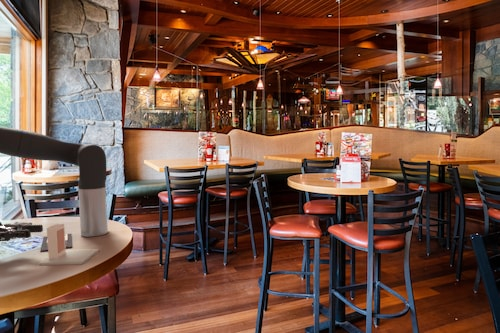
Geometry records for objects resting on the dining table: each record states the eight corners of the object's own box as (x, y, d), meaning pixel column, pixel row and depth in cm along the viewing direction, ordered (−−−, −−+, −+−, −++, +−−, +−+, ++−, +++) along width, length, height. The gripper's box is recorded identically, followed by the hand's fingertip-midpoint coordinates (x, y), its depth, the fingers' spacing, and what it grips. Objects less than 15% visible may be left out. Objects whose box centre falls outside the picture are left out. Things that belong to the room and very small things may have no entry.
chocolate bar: (40, 250, 115) (43, 236, 131) (40, 253, 115) (43, 239, 131) (72, 246, 119) (71, 233, 135) (72, 249, 119) (71, 236, 135)
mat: (61, 251, 115) (61, 249, 115) (99, 250, 115) (99, 249, 115) (39, 264, 103) (39, 262, 103) (82, 264, 103) (81, 262, 103)
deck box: (57, 253, 111) (55, 224, 111) (66, 252, 111) (64, 224, 111) (48, 258, 106) (46, 228, 106) (57, 258, 106) (55, 228, 106)
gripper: (-41, 225, 101) (20, 224, 101) (-5, 214, 115) (48, 213, 115) (-39, 251, 101) (22, 250, 101) (-3, 237, 116) (50, 236, 116)
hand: (36, 231), depth 108 cm, fingers open, 5 cm apart
